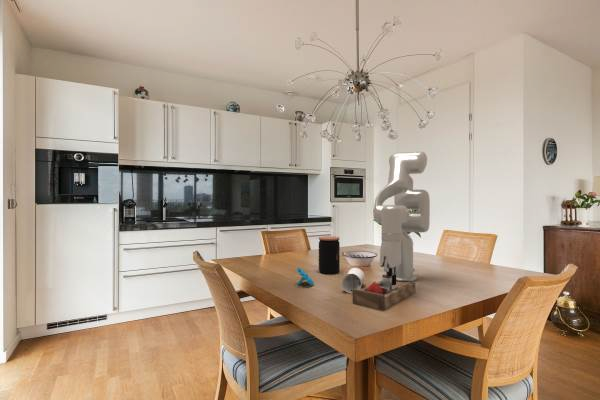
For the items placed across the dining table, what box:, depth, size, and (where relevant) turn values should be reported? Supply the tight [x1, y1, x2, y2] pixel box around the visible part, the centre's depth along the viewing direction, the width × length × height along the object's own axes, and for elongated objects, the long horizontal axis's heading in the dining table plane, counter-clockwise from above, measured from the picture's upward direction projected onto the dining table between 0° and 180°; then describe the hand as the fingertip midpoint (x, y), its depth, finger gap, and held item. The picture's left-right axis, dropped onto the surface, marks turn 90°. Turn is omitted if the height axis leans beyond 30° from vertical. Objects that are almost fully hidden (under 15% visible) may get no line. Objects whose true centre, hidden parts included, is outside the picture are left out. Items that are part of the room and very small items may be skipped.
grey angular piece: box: [368, 273, 399, 295], centre depth 125 cm, size 13×7×8 cm, turn 139°
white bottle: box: [340, 267, 366, 294], centre depth 139 cm, size 8×19×8 cm, turn 162°
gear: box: [296, 267, 315, 286], centre depth 144 cm, size 11×6×10 cm
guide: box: [352, 279, 416, 312], centre depth 125 cm, size 28×12×5 cm, turn 139°
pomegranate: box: [367, 280, 383, 294], centre depth 118 cm, size 6×6×8 cm
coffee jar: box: [318, 235, 341, 275], centre depth 168 cm, size 11×11×18 cm
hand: (391, 284), depth 128 cm, fingers closed
